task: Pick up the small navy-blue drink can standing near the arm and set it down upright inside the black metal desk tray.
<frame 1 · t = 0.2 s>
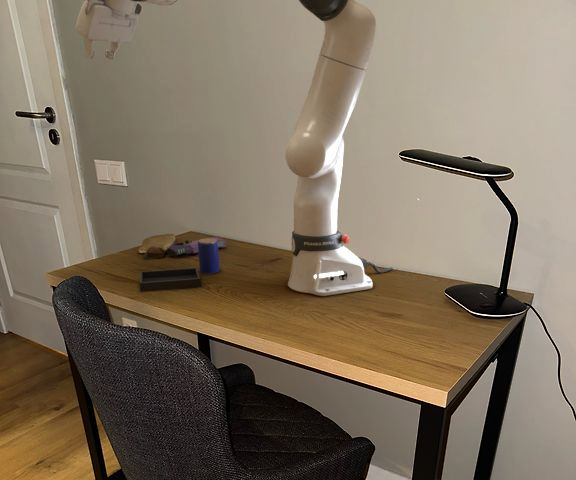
hand: (98, 57, 142), 54 cm above the table, tool tilted 30°, fingers open, 8 cm apart
tray: (170, 283, 156), on the table
stone tool: (157, 251, 188), on the table
toy gun: (193, 251, 185), on the table
can: (209, 271, 165), on the table
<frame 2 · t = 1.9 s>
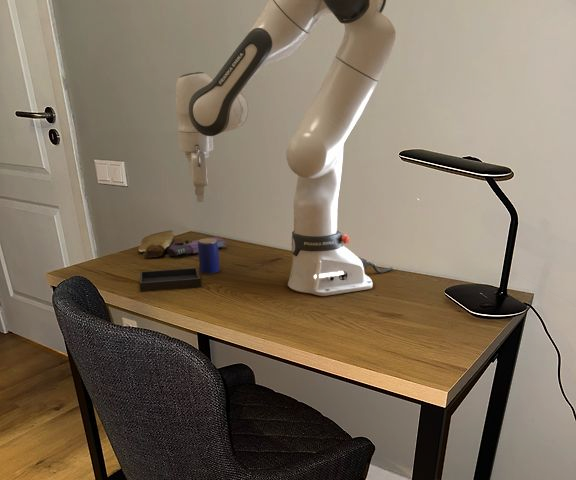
hand: (199, 198, 156), 20 cm above the table, tool pointing down, fingers open, 8 cm apart
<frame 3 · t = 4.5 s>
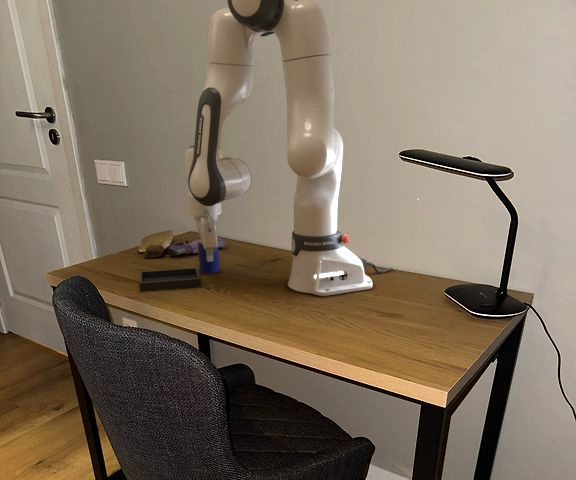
hand: (208, 257, 163), 4 cm above the table, tool pointing down, fingers closed on can, 5 cm apart
can: (209, 271, 165), on the table, touching gripper
everything else where it was.
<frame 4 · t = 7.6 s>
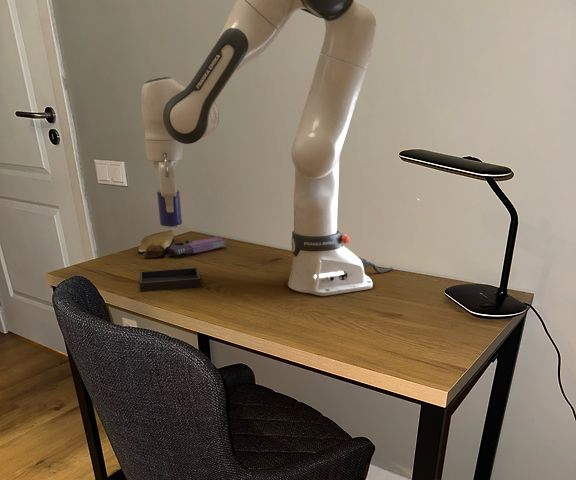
hand: (169, 209, 149), 19 cm above the table, tool pointing down, fingers closed on can, 5 cm apart
can: (171, 225, 151), point 15 cm above the table, touching gripper
everything else where it was.
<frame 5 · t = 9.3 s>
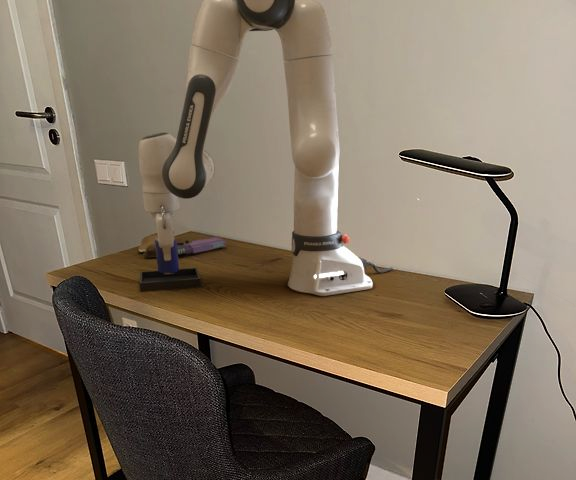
hand: (167, 256, 152), 7 cm above the table, tool pointing down, fingers closed on can, 5 cm apart
can: (168, 271, 154), point 3 cm above the table, touching gripper
everything else where it was.
when the fingers open (4 cm above the table, at t = 10.7 s): can stays where it is, resting on tray.
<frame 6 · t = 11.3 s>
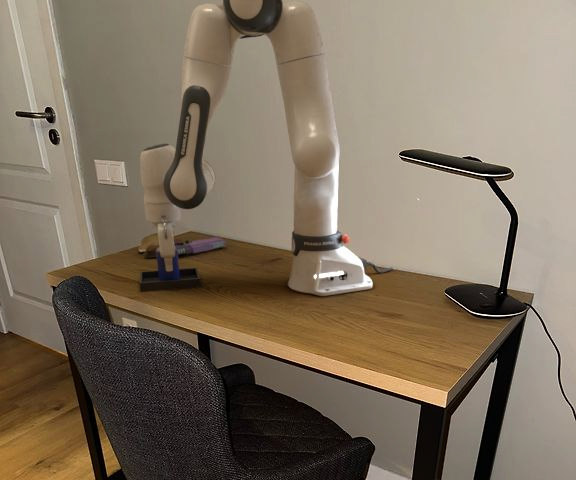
hand: (168, 265, 154), 5 cm above the table, tool pointing down, fingers open, 8 cm apart
can: (169, 281, 156), resting on tray
everything else where it was.
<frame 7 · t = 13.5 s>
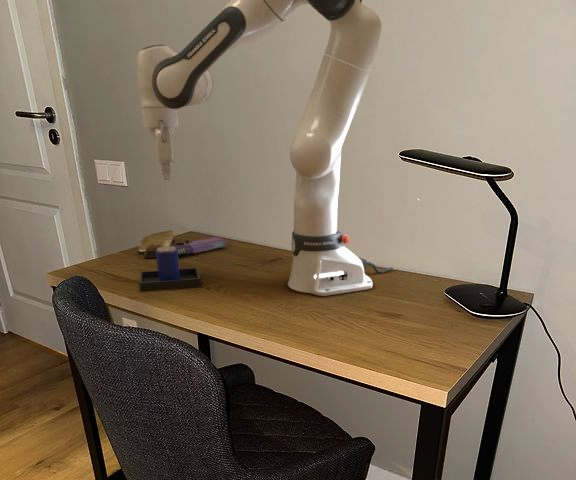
hand: (166, 177, 152), 26 cm above the table, tool pointing down, fingers open, 8 cm apart
nothing on the table moved.
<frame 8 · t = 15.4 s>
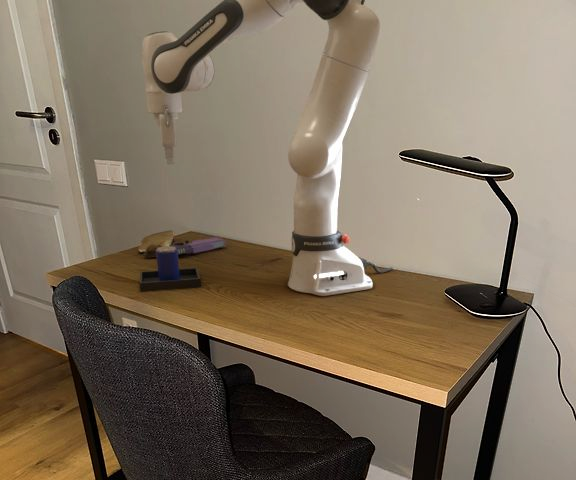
hand: (170, 161, 156), 29 cm above the table, tool pointing down, fingers open, 8 cm apart
nothing on the table moved.
at the end: can inside the target area in the tray (0.1 cm from its centre), point 0.5 cm above the tray's base; can tilted 0°; the gripper is holding nothing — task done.
